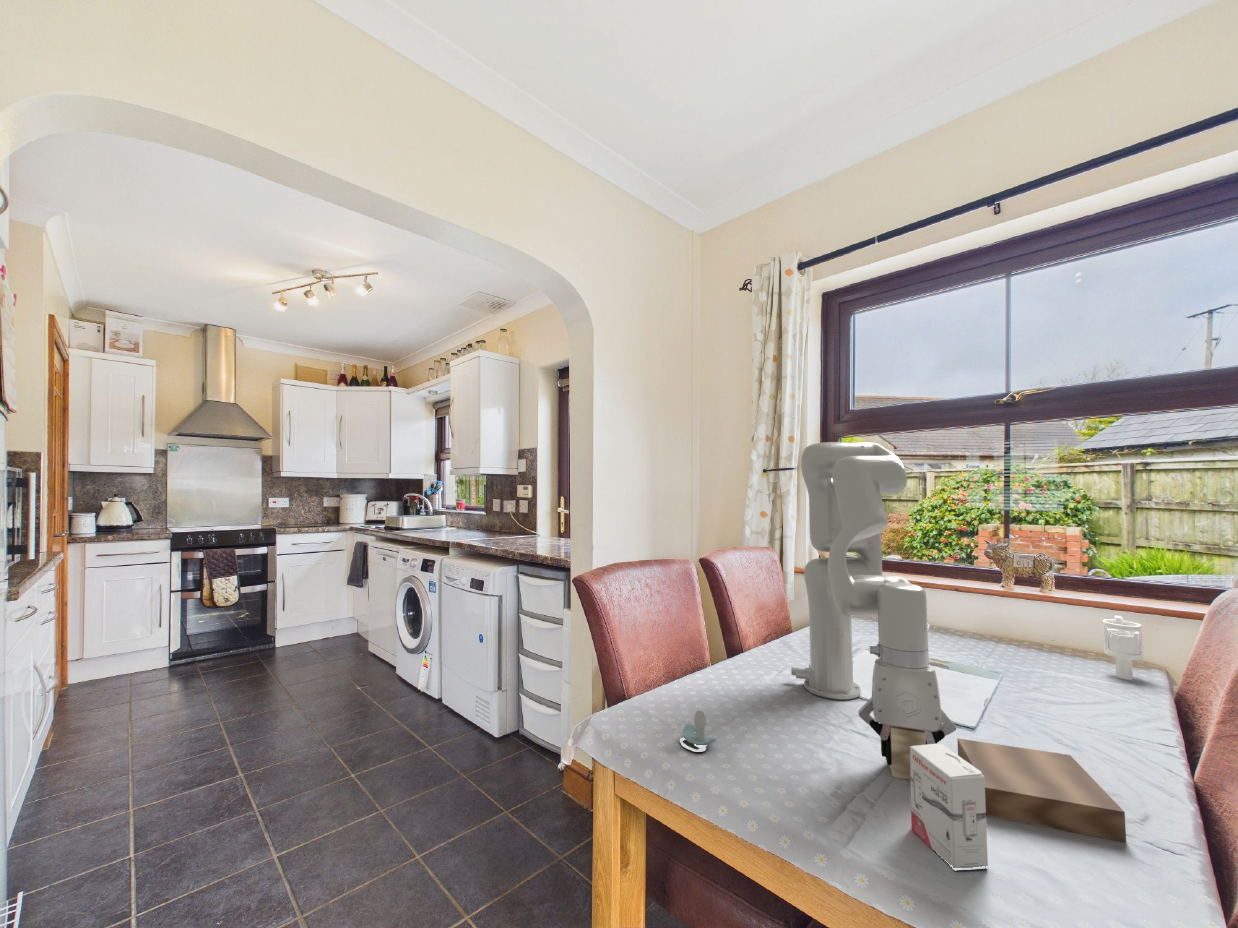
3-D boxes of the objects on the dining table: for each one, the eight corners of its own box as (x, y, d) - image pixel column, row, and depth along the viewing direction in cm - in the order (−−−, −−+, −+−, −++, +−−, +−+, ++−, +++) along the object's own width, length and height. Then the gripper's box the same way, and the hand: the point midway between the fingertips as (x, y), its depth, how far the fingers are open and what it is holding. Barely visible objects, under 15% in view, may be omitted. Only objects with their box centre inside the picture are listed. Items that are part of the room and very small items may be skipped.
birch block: (892, 776, 85) (891, 727, 85) (888, 761, 90) (887, 715, 90) (927, 782, 83) (925, 732, 84) (921, 767, 88) (919, 720, 88)
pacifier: (696, 759, 91) (721, 749, 94) (695, 724, 91) (720, 715, 95) (671, 742, 98) (696, 733, 101) (670, 709, 98) (694, 701, 101)
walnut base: (986, 815, 75) (985, 787, 75) (958, 761, 90) (957, 738, 90) (1126, 841, 69) (1124, 811, 69) (1071, 779, 84) (1070, 754, 84)
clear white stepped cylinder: (1139, 675, 130) (1135, 617, 131) (1148, 684, 124) (1145, 623, 125) (1102, 670, 134) (1099, 613, 135) (1109, 679, 128) (1106, 619, 129)
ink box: (909, 827, 72) (906, 742, 73) (941, 825, 73) (938, 741, 73) (954, 873, 64) (950, 776, 64) (990, 870, 64) (986, 774, 65)
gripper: (850, 656, 87) (853, 765, 86) (967, 669, 81) (972, 786, 80) (848, 644, 94) (851, 745, 93) (955, 655, 88) (959, 762, 87)
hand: (906, 762), depth 87 cm, fingers closed on birch block, 5 cm apart
